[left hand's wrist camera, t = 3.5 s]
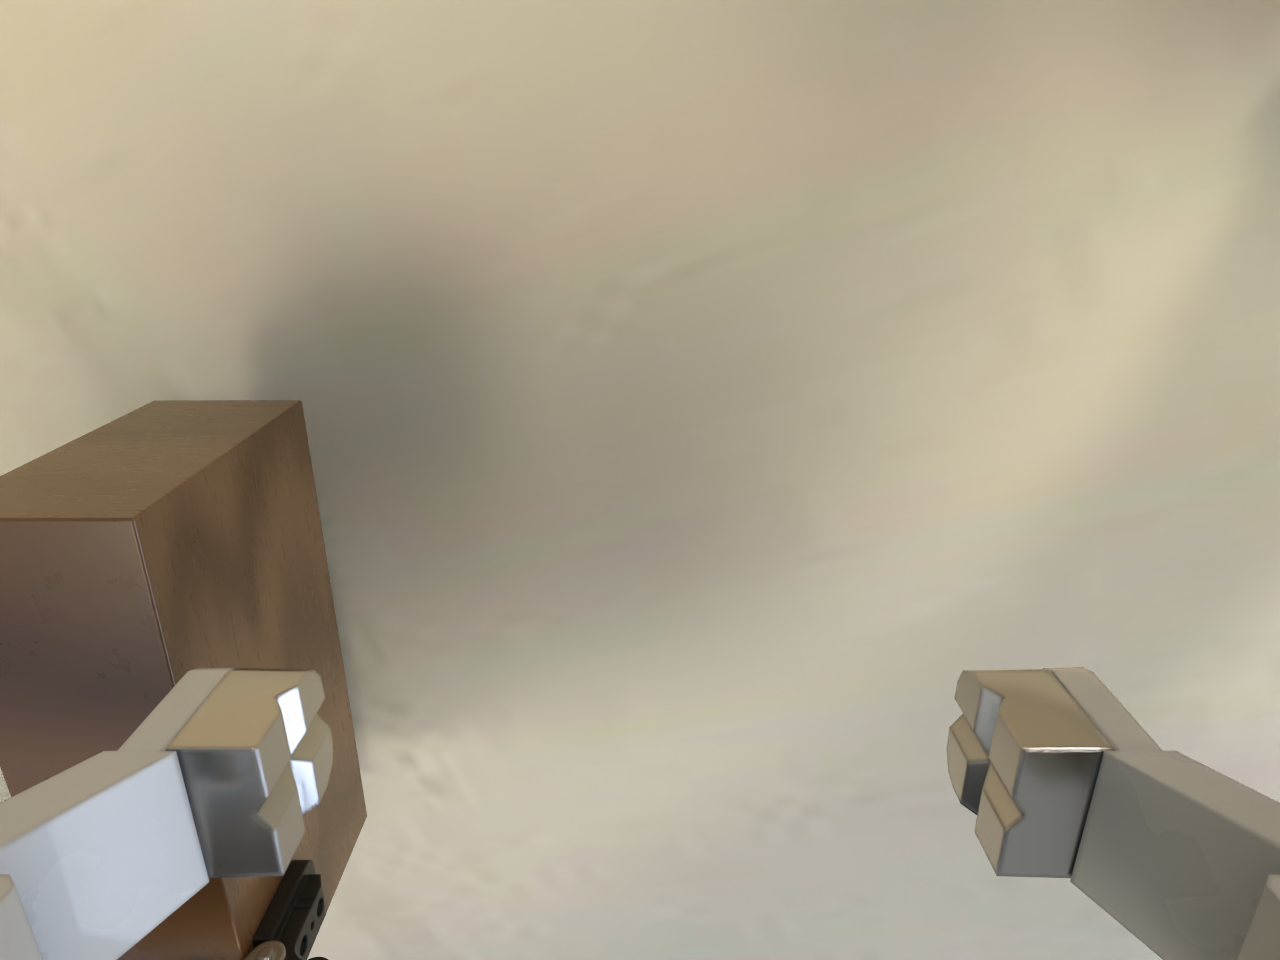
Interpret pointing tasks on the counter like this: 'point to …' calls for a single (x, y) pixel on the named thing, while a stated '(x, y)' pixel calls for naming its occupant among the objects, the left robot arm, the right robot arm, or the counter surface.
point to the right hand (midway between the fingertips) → (223, 877)
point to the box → (170, 613)
